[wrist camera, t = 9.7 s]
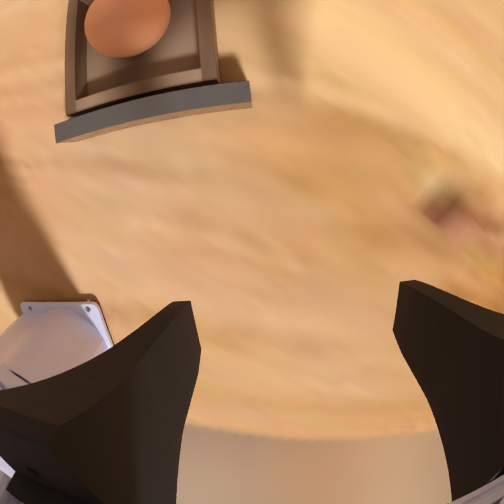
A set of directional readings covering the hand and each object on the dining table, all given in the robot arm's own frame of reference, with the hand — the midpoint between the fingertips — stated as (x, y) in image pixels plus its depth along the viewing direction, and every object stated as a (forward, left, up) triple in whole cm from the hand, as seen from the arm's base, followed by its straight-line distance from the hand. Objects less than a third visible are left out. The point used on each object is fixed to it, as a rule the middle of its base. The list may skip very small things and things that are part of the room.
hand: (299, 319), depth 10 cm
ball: (-8, +14, -10) cm, 19 cm away
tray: (-8, +14, -10) cm, 19 cm away
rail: (-7, +8, -10) cm, 15 cm away
